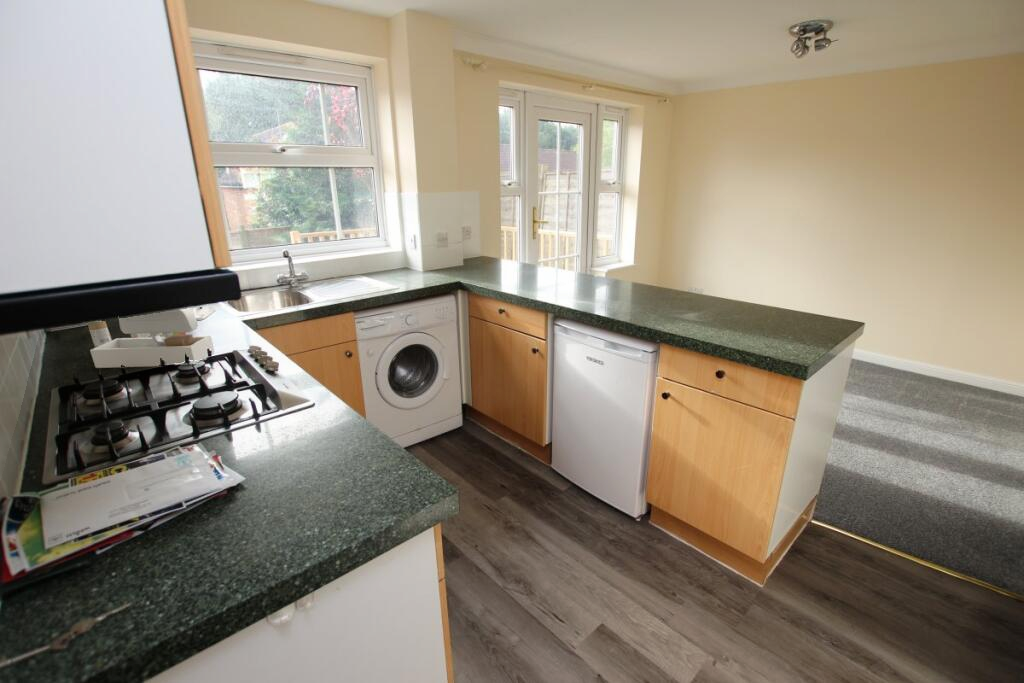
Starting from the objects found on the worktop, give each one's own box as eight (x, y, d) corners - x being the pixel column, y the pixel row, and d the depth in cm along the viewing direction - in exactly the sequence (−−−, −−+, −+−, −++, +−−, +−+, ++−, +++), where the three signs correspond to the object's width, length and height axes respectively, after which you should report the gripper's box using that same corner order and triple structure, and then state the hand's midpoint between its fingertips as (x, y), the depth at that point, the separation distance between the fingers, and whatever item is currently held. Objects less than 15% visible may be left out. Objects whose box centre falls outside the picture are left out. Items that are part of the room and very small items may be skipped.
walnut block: (178, 347, 143) (175, 334, 142) (195, 346, 143) (192, 334, 142) (167, 353, 138) (164, 340, 137) (185, 352, 138) (181, 339, 137)
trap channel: (95, 367, 136) (89, 350, 134) (122, 355, 146) (116, 338, 144) (195, 364, 137) (190, 347, 135) (214, 352, 147) (210, 335, 145)
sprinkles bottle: (115, 350, 150) (103, 309, 146) (115, 353, 147) (103, 312, 143) (97, 353, 148) (83, 312, 143) (96, 357, 144) (83, 315, 140)
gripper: (107, 304, 132) (121, 351, 137) (181, 303, 133) (193, 349, 137) (123, 299, 138) (136, 343, 143) (194, 297, 139) (205, 342, 143)
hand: (164, 346), depth 140 cm, fingers closed
